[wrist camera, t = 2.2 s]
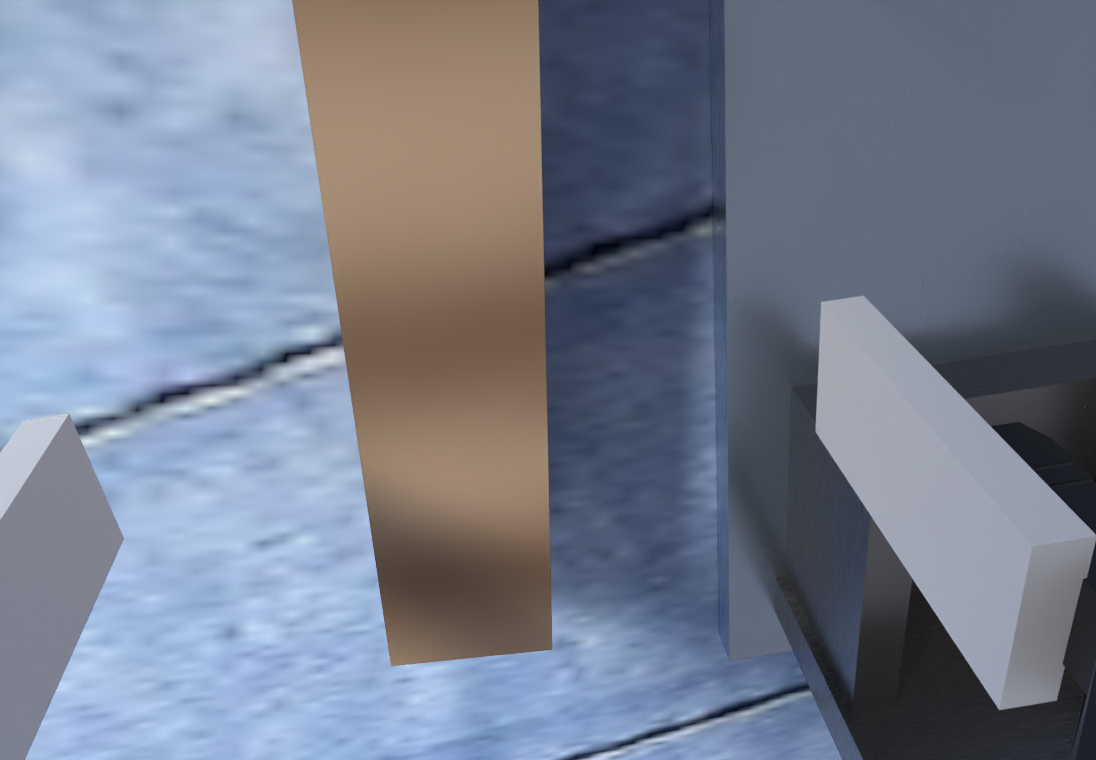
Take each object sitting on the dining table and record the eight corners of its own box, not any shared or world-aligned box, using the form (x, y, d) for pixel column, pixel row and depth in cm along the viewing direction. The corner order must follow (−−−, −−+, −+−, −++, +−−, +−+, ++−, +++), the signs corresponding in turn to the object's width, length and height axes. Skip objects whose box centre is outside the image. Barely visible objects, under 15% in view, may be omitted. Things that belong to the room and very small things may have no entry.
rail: (306, -186, 19) (262, -193, 14) (503, -190, 19) (534, -198, 14) (396, 512, 28) (391, 665, 23) (528, 501, 28) (552, 649, 23)
